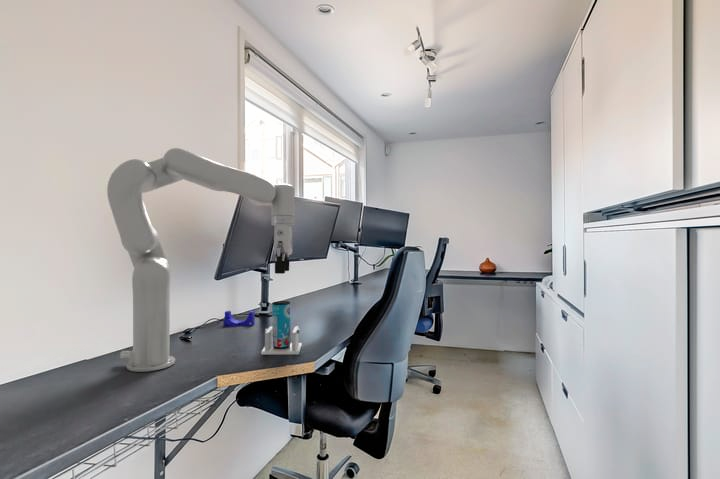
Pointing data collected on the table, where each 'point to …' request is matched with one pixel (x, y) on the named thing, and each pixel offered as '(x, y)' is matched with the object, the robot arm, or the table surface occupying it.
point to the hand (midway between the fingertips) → (282, 272)
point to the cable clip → (232, 322)
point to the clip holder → (270, 350)
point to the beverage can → (281, 324)
